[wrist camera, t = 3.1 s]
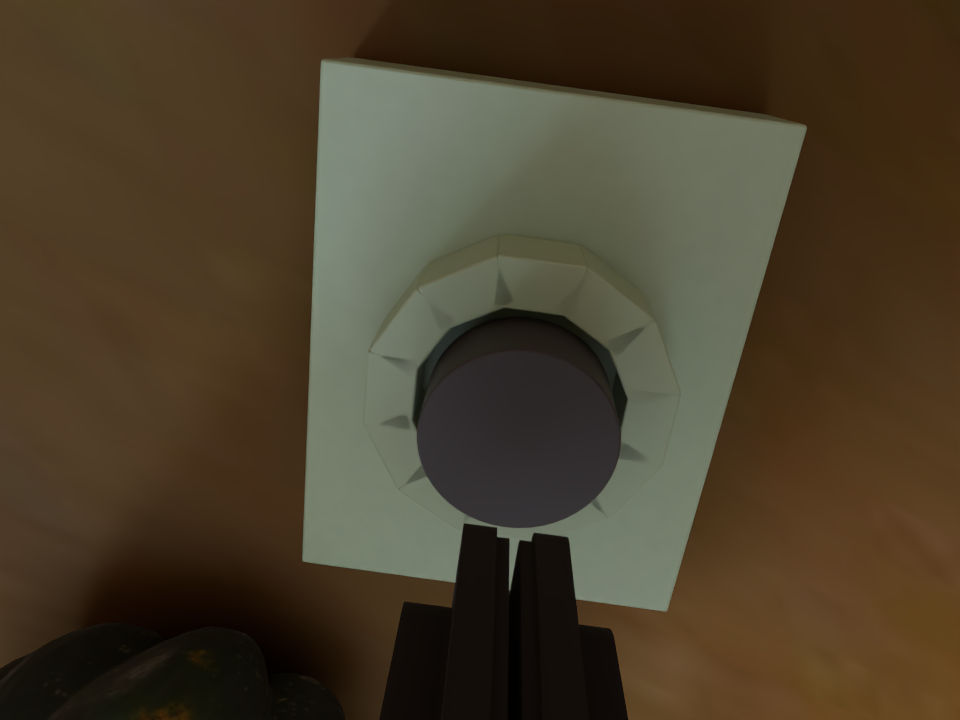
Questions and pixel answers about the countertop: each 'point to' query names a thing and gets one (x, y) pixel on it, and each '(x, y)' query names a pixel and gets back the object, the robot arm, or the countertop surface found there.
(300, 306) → the countertop surface
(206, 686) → the squash
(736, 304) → the knob plate
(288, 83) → the countertop surface
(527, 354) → the button
